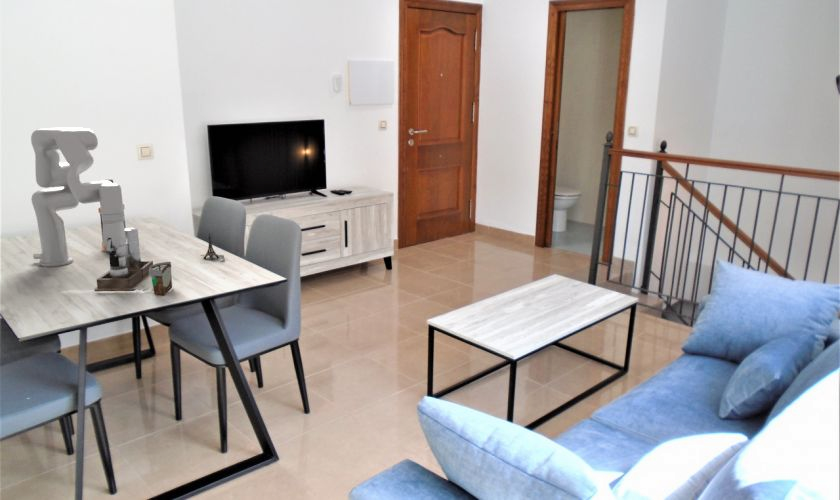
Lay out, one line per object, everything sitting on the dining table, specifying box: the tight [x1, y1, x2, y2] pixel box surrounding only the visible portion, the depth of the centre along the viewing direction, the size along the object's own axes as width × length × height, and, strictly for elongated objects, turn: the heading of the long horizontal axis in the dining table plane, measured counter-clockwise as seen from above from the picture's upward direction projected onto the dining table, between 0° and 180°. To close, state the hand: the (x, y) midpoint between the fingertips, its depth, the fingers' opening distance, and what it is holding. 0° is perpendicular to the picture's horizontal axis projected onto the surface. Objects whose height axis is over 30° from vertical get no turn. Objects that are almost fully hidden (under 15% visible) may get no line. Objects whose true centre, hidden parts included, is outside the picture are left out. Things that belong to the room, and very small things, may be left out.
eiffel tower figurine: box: [200, 232, 226, 263], centre depth 279 cm, size 15×10×13 cm
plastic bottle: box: [109, 238, 129, 279], centre depth 239 cm, size 6×7×20 cm
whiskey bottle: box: [98, 179, 127, 252], centre depth 292 cm, size 10×10×32 cm
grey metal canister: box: [125, 227, 142, 269], centre depth 252 cm, size 7×7×18 cm
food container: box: [149, 261, 173, 297], centre depth 235 cm, size 12×6×10 cm, turn 5°
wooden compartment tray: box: [93, 260, 154, 292], centre depth 248 cm, size 14×26×4 cm, turn 4°
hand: (118, 263), depth 240 cm, fingers closed on plastic bottle, 5 cm apart
